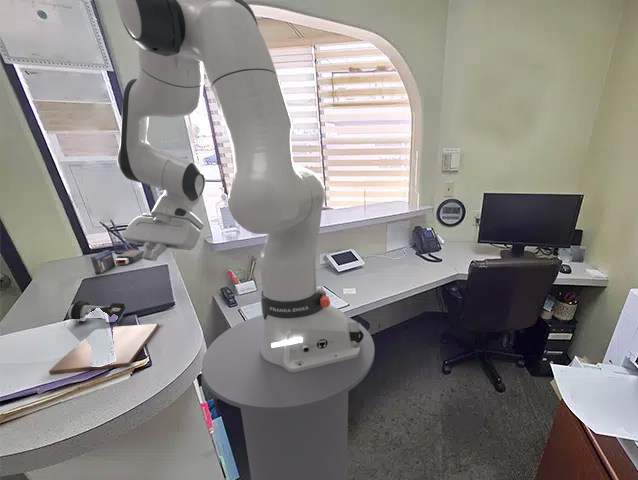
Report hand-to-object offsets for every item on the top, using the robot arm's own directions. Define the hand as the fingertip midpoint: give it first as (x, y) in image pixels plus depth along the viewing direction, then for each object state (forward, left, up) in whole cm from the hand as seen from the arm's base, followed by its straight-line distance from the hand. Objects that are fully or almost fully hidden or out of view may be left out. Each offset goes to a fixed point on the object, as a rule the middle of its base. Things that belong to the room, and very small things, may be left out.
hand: (148, 259), depth 82 cm
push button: (+6, +8, -12) cm, 15 cm away
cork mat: (+2, +21, -13) cm, 25 cm away
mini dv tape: (+27, -32, -14) cm, 44 cm away
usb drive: (+24, -43, -14) cm, 51 cm away
